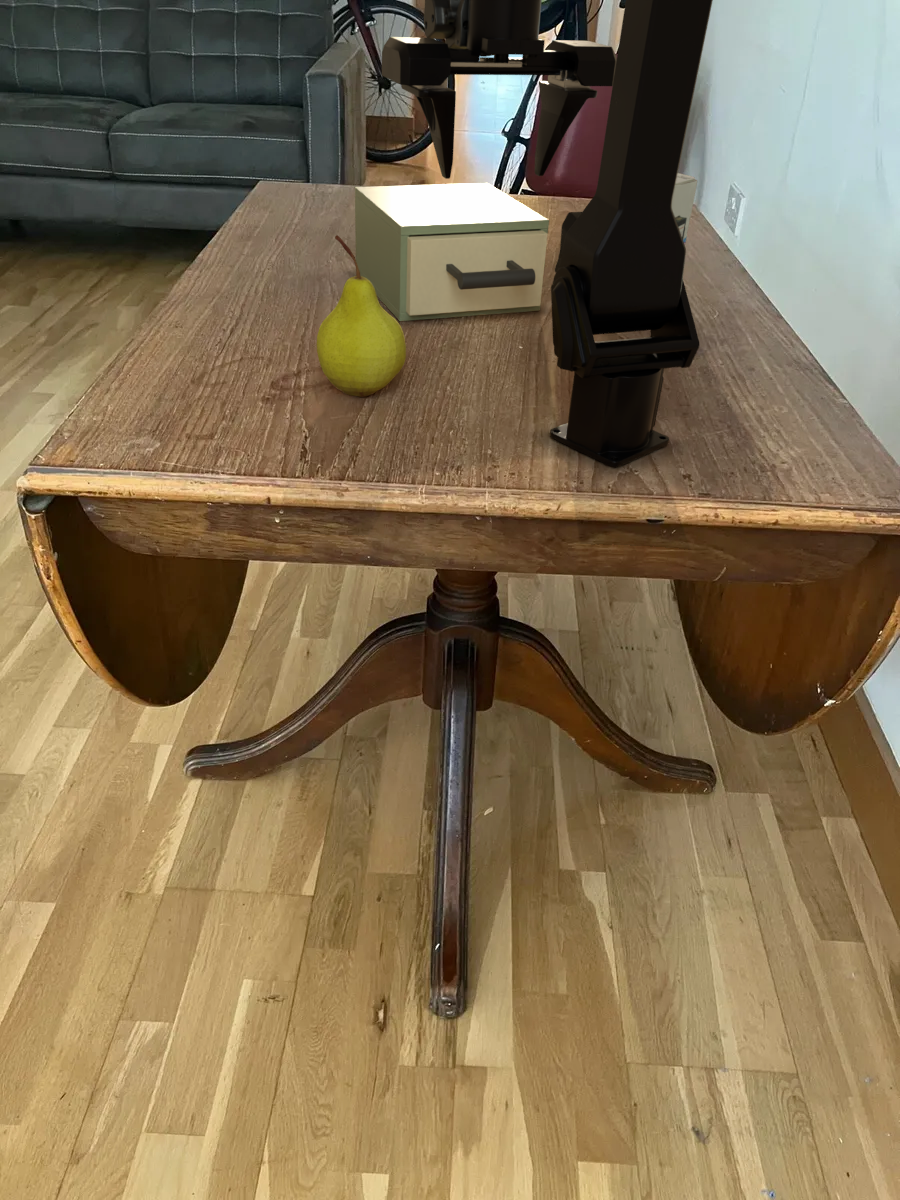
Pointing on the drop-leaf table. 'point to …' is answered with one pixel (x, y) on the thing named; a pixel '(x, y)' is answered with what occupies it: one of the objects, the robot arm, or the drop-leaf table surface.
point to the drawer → (474, 271)
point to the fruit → (360, 340)
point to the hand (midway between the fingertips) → (493, 176)
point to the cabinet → (428, 231)
